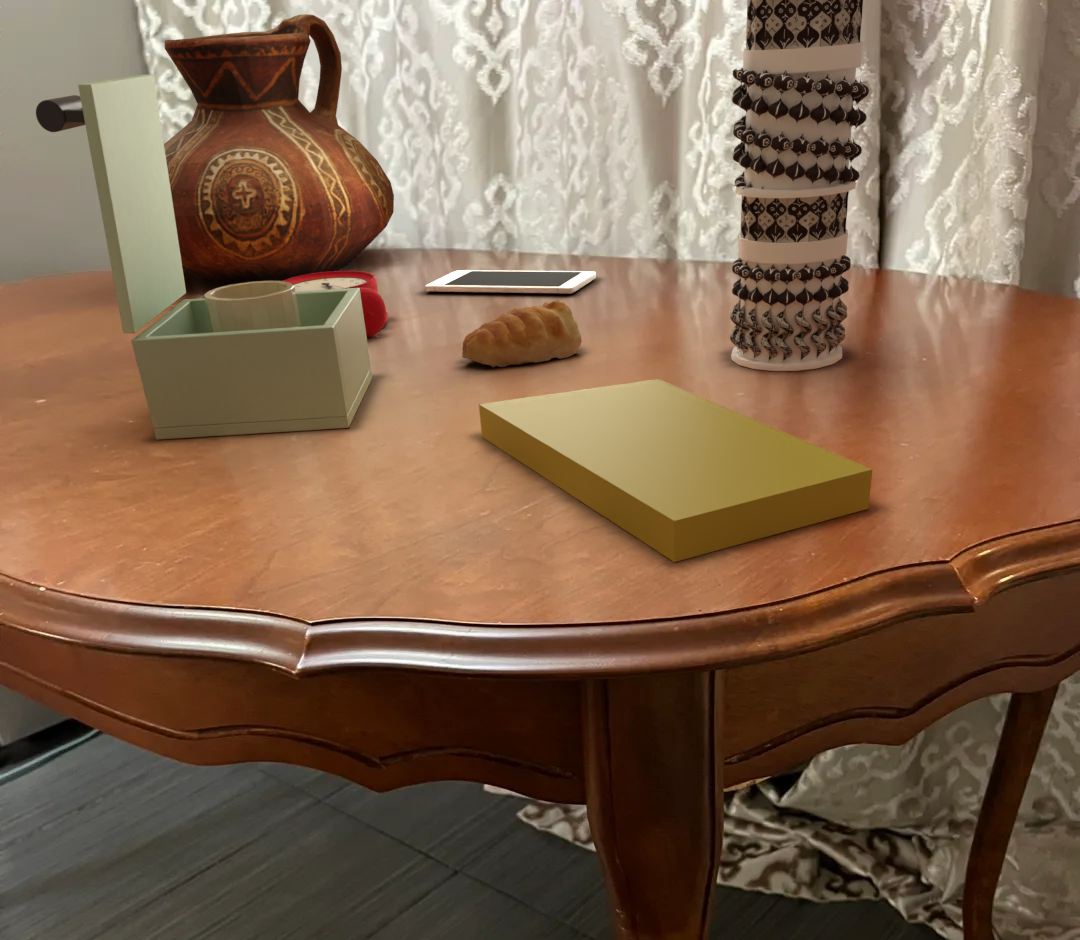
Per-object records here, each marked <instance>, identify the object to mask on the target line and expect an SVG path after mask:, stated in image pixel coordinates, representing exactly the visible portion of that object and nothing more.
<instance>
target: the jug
mask: <svg viewBox="0 0 1080 940" xmlns="http://www.w3.org/2000/svg"><path fill="white" fill-rule="evenodd" d="M310 37H311V38H310ZM311 39H312V40H313V43H314V46H315V48H316V51H317V55H318V61H319V80H318V86H317V94H316V100H315V104H314V108H313V109H312V110H311V111H309V110H308V109H307V107H306V106H305V105H304V104H303V103H302V102H301V100H299V94H300V80H301V75H302V72H303V68H304V63H305V58H306V56H307V54H308V50H309V48H310V44H311ZM164 50H165V52H166V54H168V56H169V58H170V59H171V61H172V63H173V64H174V66H175V67H176V69H177V71H178V72H179V73H180V75H181V77H182V78H183V80H184V81H185V84H187V86H188V88H189V89H190V91H191V93H192V96H193V98H194V99H195V102H196V103H197V105H196V107H195V110H194V113H193V116H192V118H191V120H190V122H188V123H187V124H186V125H185V126H183V128H181V129H180V130H179V131H178V132H176V133H175V134H174V135H173V136H172V137H170V138H169V139H168V140H167V141H166V142H165V143H164V148H165V155H166V162H167V168H168V175H169V182H170V188H171V195H172V202H173V208H174V215H175V222H176V228H177V235H178V242H179V248H180V255H181V262H182V268H183V270H185V271H187V272H189V273H192V274H194V275H196V276H199V277H200V278H202V279H204V280H207V281H209V282H214V283H220V284H230V285H232V284H238V283H245V282H254V281H283V280H286V279H289V278H293V277H297V276H301V275H306V274H313V273H320V272H330V271H339V270H340V269H343V268H346V267H348V266H349V265H350V264H351V263H352V262H353V261H354V260H355V259H356V258H358V256H359V255H361V253H363V251H365V249H366V248H368V246H369V245H370V244H371V243H372V242H374V240H375V239H377V237H378V236H379V235H380V234H381V233H382V232H383V231H384V230H385V229H386V228H387V227H388V224H389V222H390V221H391V218H392V216H393V214H394V211H395V208H394V207H395V206H394V205H395V195H394V190H393V186H392V182H391V180H390V179H389V177H388V175H387V174H386V172H385V171H384V169H383V168H382V166H381V164H380V163H379V161H378V160H377V159H376V157H375V156H373V154H372V153H371V152H370V151H369V150H368V149H367V148H366V147H365V146H364V144H362V142H361V141H360V140H358V138H356V137H355V136H353V135H352V134H351V133H349V132H348V131H347V130H346V129H344V128H343V127H341V126H340V125H339V122H338V118H337V111H338V104H339V97H340V89H341V81H342V71H343V67H342V66H343V65H342V55H341V51H340V48H339V46H338V43H337V40H336V37H335V34H334V33H333V31H332V30H331V29H330V27H329V26H328V24H327V22H326V21H325V20H324V19H322V18H319V17H318V16H316V15H314V14H308V13H305V14H297V15H294V16H292V17H289V18H284V19H283V20H282V21H281V22H280V23H279V24H278V25H277V26H276V27H273V28H271V29H269V30H265V31H264V30H263V31H261V30H260V31H242V32H233V33H222V34H214V35H206V36H205V35H204V36H199V37H191V38H179V39H166V40H164Z"/></svg>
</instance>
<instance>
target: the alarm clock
mask: <svg viewBox="0 0 1080 940" xmlns="http://www.w3.org/2000/svg"><path fill="white" fill-rule="evenodd" d="M283 281H284V282H290V283H292V284H293V285H294V287H295V292H304V291H318V290H333V289H348V288H360V294H361V301H362V308H363V315H364V322H365V329H366V336H367V338H372V337H374V336H375V335H378V334H379V333H380V332H381V331H382V329H383V328H384V326H385V325H386V322H388V320H389V314H388V312H387V308H386V307H387V306H386V304H385V301H384V299H383V297H382V296H381V295H380V294H379V290H378V280H377V279H376V276H375V274H373V273H370V272H368V271H361V270H360V271H359V270H336V271H330V272H320V273H313V274H306V275H301V276H297V277H293V278H289V279H286V280H283Z"/></svg>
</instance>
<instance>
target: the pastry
mask: <svg viewBox="0 0 1080 940" xmlns="http://www.w3.org/2000/svg"><path fill="white" fill-rule="evenodd" d="M582 342H583V340H582V334H581V332H580V329H579V325H578V323H577V321H576V319H574V316H573V312H572V310H571V308H570V307H569V305H567V304H566V303H565V302H563V301H561V300H558V299H557V300H554V301H551V302H544V303H543V304H542V305H533V306H532V305H531V306H521V307H516V308H513V309H511V310H508V311H507V312H505V313H502V314H500V315H499V316H498V317H497V318H495V319H493V320H490V321H489V322H485V323H482V324H481V325H480V326H479V327H478V328H476V329H475V330H473V331H472V332H469V333H468V334H467V335H466V336H465V337H464V339H463V342H462V348H461V349H462V352H461V357H462V358H463V359H467V360H470V361H472V362H476V363H478V364H481V365H486V366H491V367H492V368H494V367H499V368H505V367H507V366H511V365H518V366H521V365H523V364H526V363H527V364H528V363H533V364H535V363H536V364H537V363H543V362H548V361H550V360H551V359H554V358H557V359H560V360H561V359H565V358H566V359H567V358H569V357H571V356H574V355H575V354H577V353H578V349H579V348H580V347H581V345H582Z"/></svg>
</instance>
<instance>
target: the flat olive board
mask: <svg viewBox="0 0 1080 940" xmlns="http://www.w3.org/2000/svg"><path fill="white" fill-rule="evenodd" d="M478 411H479V419H480V431H481V437H482V438H483V439H484V440H486V441H488V442H489V443H491V444H492V445H494V446H495V447H497V448H498V449H500V450H501V451H503V452H504V453H505V454H507V455H509V456H510V457H512V458H514V459H515V460H517V461H518V462H519V463H521V464H522V465H524V466H526V467H527V468H529V469H530V470H532V471H533V472H535V473H536V474H538V475H540V476H541V477H543V478H544V479H546V480H547V481H549V482H550V483H552V484H554V485H555V486H557V488H559V489H561V490H563V491H564V492H566V493H567V494H569V495H570V496H572V497H574V498H575V499H577V500H578V501H579V502H580V503H583V504H584V505H585V506H587V507H589V508H590V509H591V510H593V511H595V512H597V513H598V514H600V515H601V516H602V517H604V518H605V519H607V520H609V521H610V522H612V523H613V524H615V525H617V526H618V527H619V528H621V529H622V530H623V531H625V532H627V533H629V534H630V535H632V536H633V537H635V538H636V539H638V540H639V541H640V542H643V544H646V546H649V547H650V548H652V549H653V550H655V551H656V552H658V553H659V554H661V555H662V556H664V557H665V558H667V559H669V560H670V561H672V562H673V563H676V562H681V561H684V560H687V559H691V558H694V557H698V556H702V555H705V554H709V553H713V552H716V551H717V552H718V551H720V550H723V549H727V548H731V547H734V546H738V545H742V544H746V543H749V542H752V541H757V540H760V539H764V538H767V537H771V536H775V535H778V534H782V533H785V532H789V531H792V530H795V529H796V530H797V529H801V528H804V527H807V526H811V525H814V524H818V523H822V522H825V521H829V520H834V519H837V518H840V517H844V516H847V515H851V514H854V513H859V512H863V511H865V510H866V511H867V510H869V507H870V499H871V488H872V478H873V468H871V467H868V466H865V465H863V464H861V463H858V462H856V461H853V460H852V459H849V458H846V457H844V456H842V455H840V454H837V453H835V452H832V451H831V450H828V449H825V448H823V447H820V446H818V445H816V444H814V443H811V442H809V441H806V440H804V439H801V438H799V437H797V436H795V435H792V434H789V433H787V432H785V431H782V430H780V429H778V428H775V427H773V426H771V425H768V424H766V423H764V422H761V421H759V420H757V419H754V418H751V417H749V416H747V415H744V414H742V413H740V412H738V411H735V410H733V409H730V408H727V407H726V406H723V405H721V404H718V403H716V402H713V401H712V400H710V399H707V398H704V397H702V396H700V395H698V394H695V393H692V392H690V391H688V390H685V389H683V388H681V387H678V386H676V385H674V384H671V383H669V382H667V381H664V380H662V379H660V378H653V379H648V380H640V381H633V382H627V383H625V382H624V383H619V384H611V385H606V386H605V385H604V386H598V387H591V388H584V389H583V388H582V389H577V390H569V391H562V392H554V393H548V394H542V395H533V396H527V397H519V398H513V399H505V400H499V401H492V402H491V401H490V402H485V403H479V404H478Z"/></svg>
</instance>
